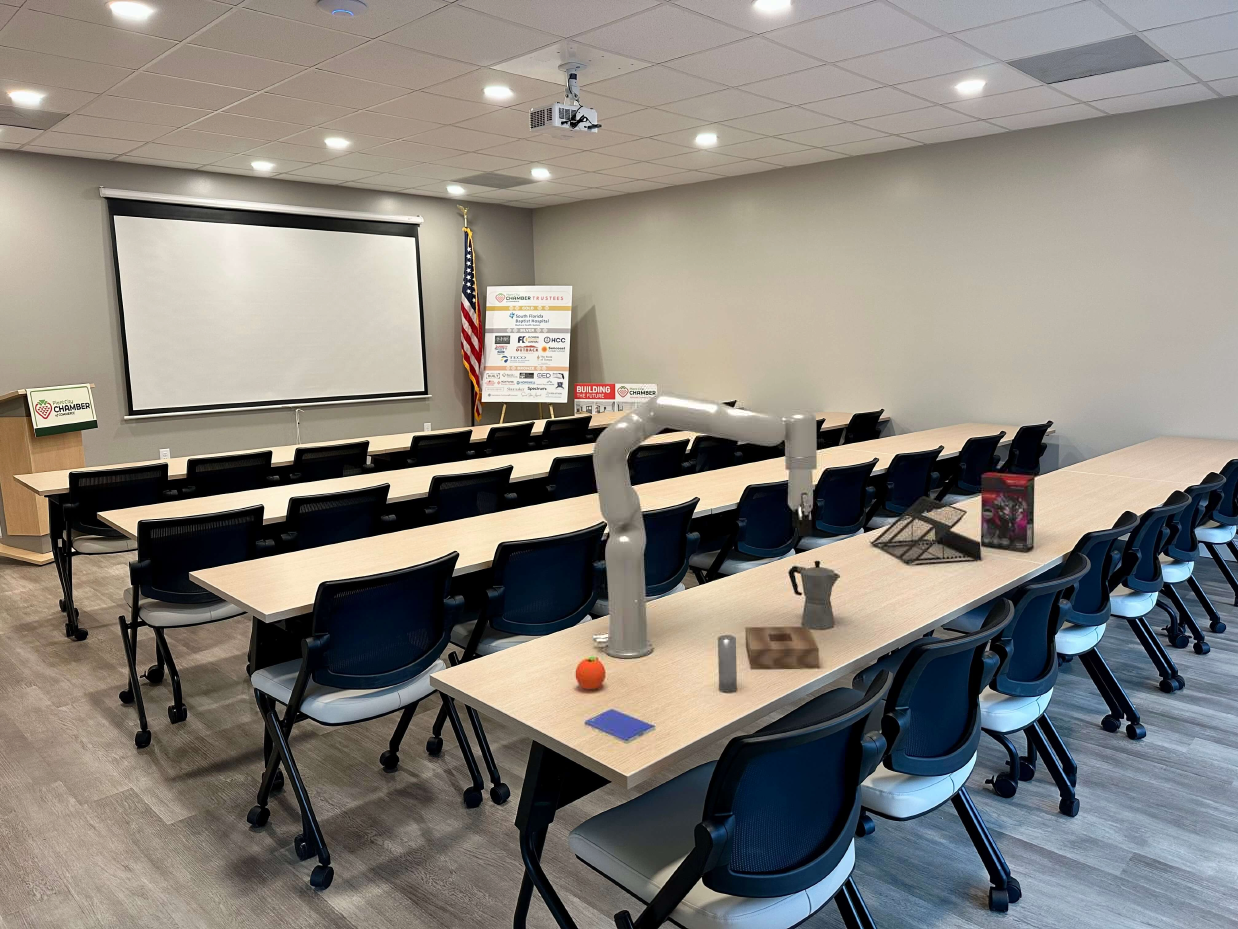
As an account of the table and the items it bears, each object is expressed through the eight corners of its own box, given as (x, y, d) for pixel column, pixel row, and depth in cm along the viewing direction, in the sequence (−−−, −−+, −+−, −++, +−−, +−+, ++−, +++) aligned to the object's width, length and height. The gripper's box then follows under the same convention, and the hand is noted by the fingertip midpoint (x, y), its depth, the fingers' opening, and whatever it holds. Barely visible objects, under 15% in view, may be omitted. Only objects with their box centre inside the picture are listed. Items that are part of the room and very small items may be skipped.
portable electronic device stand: (868, 546, 319) (868, 499, 316) (937, 541, 322) (938, 495, 319) (906, 567, 286) (907, 515, 284) (983, 562, 289) (984, 510, 287)
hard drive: (584, 721, 172) (626, 739, 163) (612, 708, 178) (655, 724, 169) (584, 728, 172) (627, 746, 163) (612, 715, 178) (655, 732, 169)
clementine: (585, 679, 197) (584, 650, 196) (612, 682, 194) (611, 653, 193) (570, 692, 190) (569, 662, 189) (598, 695, 187) (597, 665, 186)
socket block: (750, 669, 199) (750, 649, 198) (745, 646, 215) (745, 627, 214) (818, 668, 198) (818, 648, 197) (808, 645, 213) (808, 626, 213)
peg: (719, 693, 186) (718, 641, 184) (718, 686, 190) (717, 635, 188) (737, 693, 185) (736, 641, 184) (736, 686, 189) (735, 635, 188)
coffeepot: (848, 624, 228) (847, 560, 226) (832, 634, 221) (831, 567, 219) (797, 614, 238) (796, 553, 236) (780, 623, 231) (779, 560, 229)
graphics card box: (979, 546, 309) (980, 474, 306) (987, 543, 314) (988, 471, 310) (1026, 553, 297) (1028, 477, 293) (1034, 549, 301) (1036, 475, 298)
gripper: (781, 459, 213) (782, 524, 215) (790, 468, 196) (791, 539, 198) (810, 458, 213) (811, 524, 215) (822, 467, 195) (823, 538, 198)
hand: (801, 531), depth 206 cm, fingers open, 9 cm apart
